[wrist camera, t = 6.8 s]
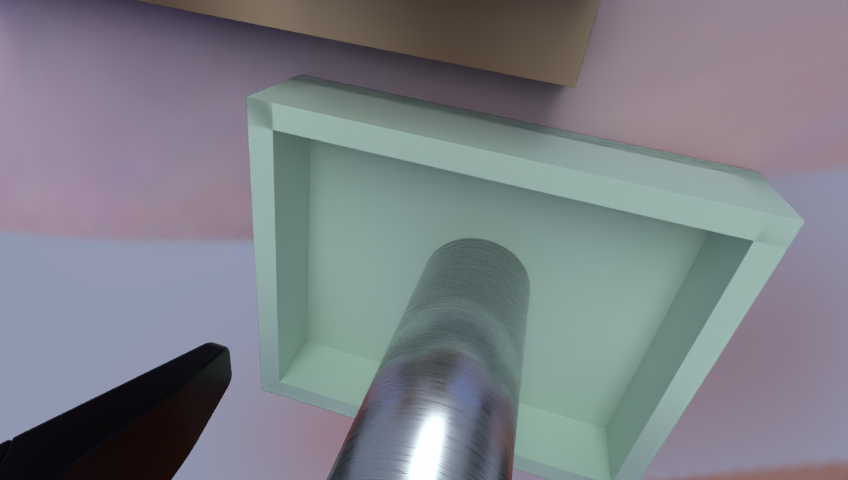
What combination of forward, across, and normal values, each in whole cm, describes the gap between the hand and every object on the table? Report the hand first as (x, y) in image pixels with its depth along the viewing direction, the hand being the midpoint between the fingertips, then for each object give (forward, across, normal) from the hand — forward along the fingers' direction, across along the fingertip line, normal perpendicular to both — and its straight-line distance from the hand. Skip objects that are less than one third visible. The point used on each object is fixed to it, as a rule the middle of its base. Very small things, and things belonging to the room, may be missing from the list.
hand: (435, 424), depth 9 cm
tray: (+6, 0, 0) cm, 6 cm away
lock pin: (+5, 0, 0) cm, 5 cm away
